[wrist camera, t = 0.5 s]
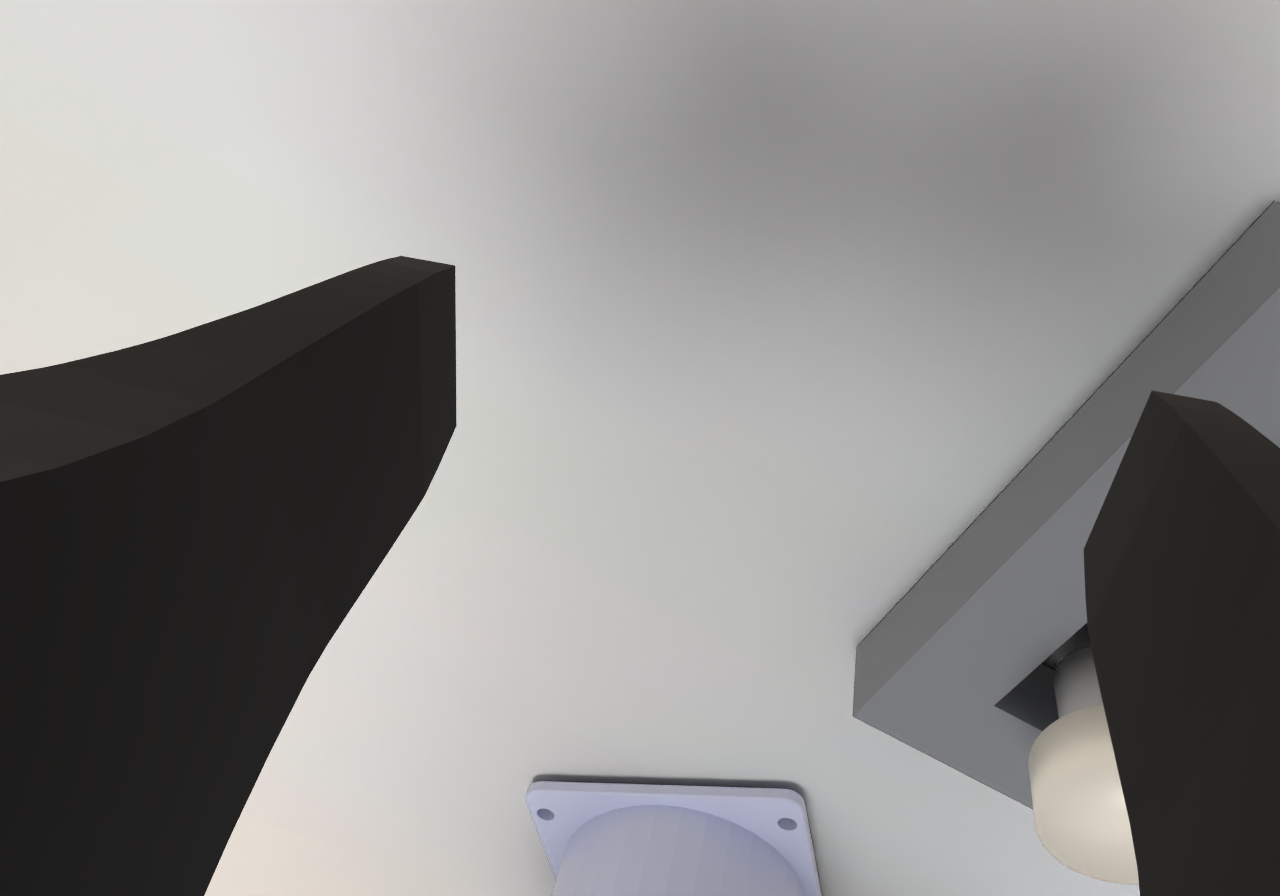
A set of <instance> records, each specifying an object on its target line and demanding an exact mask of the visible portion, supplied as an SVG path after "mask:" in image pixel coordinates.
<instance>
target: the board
mask: <svg viewBox="0 0 1280 896" xmlns="http://www.w3.org/2000/svg"><path fill="white" fill-rule="evenodd" d="M1152 390H1153V391H1158V392H1164V393H1170V394H1175V395H1181V396H1186V397H1192V398H1198V399H1203V400H1209V401H1214V402H1217V403H1219V404H1221V405H1222V406H1224V407H1226V408H1227V409H1229V410H1230V411H1232V412H1233V413H1235V414H1236V415H1238V416H1239V417H1241V418H1242V419H1243V420H1245V421H1246V422H1247V423H1249V424H1250V425H1251V426H1253V427H1254V428H1255V429H1256V430H1258V431H1259V432H1260V433H1261V434H1263V435H1264V436H1265V437H1267V438H1268V439H1269V440H1270V441H1272V442H1273V443H1274V444H1275V445H1277V446H1278V447H1279V448H1280V204H1279V203H1278V202H1276V201H1274V202H1273V203H1272V204H1271V205H1270V207H1269V208H1268V209H1267V210H1266V211H1265V212H1264V213H1263V214H1262V215H1261V216H1260V217H1259V218H1258V219H1257V220H1256V222H1255V223H1254V224H1253V225H1252V226H1251V227H1250V228H1249V229H1248V230H1247V231H1246V232H1245V233H1244V234H1243V235H1242V236H1241V238H1240V239H1239V240H1238V241H1237V242H1236V243H1235V244H1234V245H1233V246H1232V247H1231V248H1230V249H1229V250H1228V251H1227V252H1226V254H1225V255H1224V256H1223V257H1222V258H1221V259H1220V260H1219V261H1218V262H1217V263H1216V264H1215V265H1214V266H1213V267H1212V268H1211V270H1210V271H1209V272H1208V273H1207V274H1206V275H1205V276H1204V277H1203V278H1202V279H1201V280H1200V281H1199V282H1198V283H1197V284H1196V286H1195V287H1194V288H1193V289H1192V290H1191V291H1190V292H1189V293H1188V294H1187V295H1186V296H1185V297H1184V298H1183V299H1182V301H1181V302H1180V303H1179V304H1178V305H1177V306H1176V307H1175V308H1174V309H1173V310H1172V311H1171V312H1170V313H1169V314H1168V315H1167V317H1166V318H1165V319H1164V320H1163V321H1162V322H1161V323H1160V324H1159V325H1158V326H1157V327H1156V328H1155V329H1154V330H1153V331H1152V333H1151V334H1150V335H1149V336H1148V337H1147V338H1146V339H1145V340H1144V341H1143V342H1142V343H1141V344H1140V345H1139V346H1138V347H1137V349H1136V350H1135V351H1134V352H1133V353H1132V354H1131V355H1130V356H1129V357H1128V358H1127V359H1126V360H1125V361H1124V362H1123V364H1122V365H1121V366H1120V367H1119V368H1118V369H1117V370H1116V371H1115V372H1114V373H1113V374H1112V375H1111V376H1110V377H1109V378H1108V380H1107V381H1106V382H1105V383H1104V384H1103V385H1102V386H1101V387H1100V388H1099V389H1098V390H1097V391H1096V392H1095V393H1094V394H1093V396H1092V397H1091V398H1090V399H1089V400H1088V401H1087V402H1086V403H1085V404H1084V405H1083V406H1082V407H1081V408H1080V409H1079V410H1078V412H1077V413H1076V414H1075V415H1074V416H1073V417H1072V418H1071V419H1070V420H1069V421H1068V422H1067V423H1066V424H1065V425H1064V426H1063V428H1062V429H1061V430H1060V431H1059V432H1058V433H1057V434H1056V435H1055V436H1054V437H1053V438H1052V439H1051V440H1050V441H1049V443H1048V444H1047V445H1046V446H1045V447H1044V448H1043V449H1042V450H1041V451H1040V452H1039V453H1038V454H1037V455H1036V456H1035V457H1034V459H1033V460H1032V461H1031V462H1030V463H1029V464H1028V465H1027V466H1026V467H1025V468H1024V469H1023V470H1022V471H1021V472H1020V473H1019V475H1018V476H1017V477H1016V478H1015V479H1014V480H1013V481H1012V482H1011V483H1010V484H1009V485H1008V486H1007V487H1006V488H1005V489H1004V491H1003V492H1002V493H1001V494H1000V495H999V496H998V497H997V498H996V499H995V500H994V501H993V502H992V503H991V504H990V505H989V507H988V508H987V509H986V510H985V511H984V512H983V513H982V514H981V515H980V516H979V517H978V518H977V519H976V520H975V522H974V523H973V524H972V525H971V526H970V527H969V528H968V529H967V530H966V531H965V532H964V533H963V534H962V535H961V536H960V538H959V539H958V540H957V541H956V542H955V543H954V544H953V545H952V546H951V547H950V548H949V549H948V550H947V551H946V552H945V554H944V555H943V556H942V557H941V558H940V559H939V560H938V561H937V562H936V563H935V564H934V565H933V566H932V567H931V568H930V570H929V571H928V572H927V573H926V574H925V575H924V576H923V577H922V578H921V579H920V580H919V581H918V582H917V583H916V584H915V586H914V587H913V588H912V589H911V590H910V591H909V592H908V593H907V594H906V595H905V596H904V597H903V598H902V599H901V601H900V602H899V603H898V604H897V605H896V606H895V607H894V608H893V609H892V610H891V611H890V612H889V613H888V614H887V615H886V617H885V618H884V619H883V620H882V621H881V622H880V623H879V624H878V625H877V626H876V627H875V628H874V629H873V630H872V631H871V633H870V634H869V635H868V636H867V637H866V638H865V639H864V640H863V641H862V642H861V643H860V644H859V645H858V646H857V647H856V664H855V682H854V700H853V717H855V718H857V719H859V720H861V721H863V722H865V723H866V724H868V725H870V726H872V727H874V728H876V729H878V730H880V731H882V732H884V733H886V734H888V735H890V736H892V737H894V738H896V739H897V740H899V741H901V742H903V743H905V744H907V745H909V746H911V747H913V748H915V749H917V750H919V751H921V752H923V753H925V754H927V755H928V756H930V757H932V758H934V759H936V760H938V761H940V762H942V763H944V764H946V765H948V766H950V767H952V768H954V769H956V770H958V771H959V772H961V773H963V774H965V775H967V776H969V777H971V778H973V779H975V780H977V781H979V782H981V783H983V784H985V785H987V786H989V787H990V788H992V789H994V790H996V791H998V792H1000V793H1002V794H1004V795H1006V796H1008V797H1010V798H1012V799H1014V800H1016V801H1018V802H1020V803H1021V804H1023V805H1025V806H1027V807H1029V808H1031V809H1033V801H1032V793H1031V784H1030V775H1029V766H1028V760H1029V753H1030V750H1031V747H1032V745H1033V743H1034V742H1035V740H1036V739H1037V737H1038V736H1039V735H1040V733H1041V732H1042V731H1044V730H1045V729H1046V728H1047V727H1048V726H1049V725H1051V724H1052V723H1053V722H1055V721H1056V720H1058V719H1059V716H1058V710H1057V703H1056V696H1055V690H1054V683H1053V676H1054V672H1055V670H1053V669H1051V668H1049V667H1047V666H1045V665H1043V664H1041V663H1042V662H1043V661H1045V660H1046V659H1047V658H1048V657H1049V656H1050V655H1051V654H1052V653H1054V652H1055V651H1056V650H1057V649H1058V648H1059V647H1060V646H1061V645H1063V644H1064V643H1065V642H1066V641H1067V640H1068V639H1069V638H1070V637H1072V636H1073V635H1074V634H1075V633H1076V632H1077V631H1078V630H1079V629H1081V628H1082V627H1083V626H1084V625H1085V624H1086V623H1087V612H1086V598H1085V575H1084V550H1083V549H1084V547H1085V545H1086V542H1087V540H1088V538H1089V535H1090V533H1091V531H1092V528H1093V526H1094V524H1095V521H1096V519H1097V517H1098V514H1099V512H1100V510H1101V507H1102V505H1103V503H1104V500H1105V498H1106V496H1107V493H1108V491H1109V489H1110V487H1111V484H1112V482H1113V480H1114V477H1115V475H1116V473H1117V470H1118V468H1119V466H1120V463H1121V461H1122V459H1123V456H1124V454H1125V452H1126V449H1127V447H1128V445H1129V442H1130V440H1131V438H1132V435H1133V433H1134V431H1135V428H1136V426H1137V424H1138V421H1139V419H1140V417H1141V414H1142V412H1143V410H1144V407H1145V405H1146V403H1147V400H1148V398H1149V396H1150V393H1151V391H1152Z"/></svg>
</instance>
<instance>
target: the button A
mask: <svg viewBox="0 0 1280 896" xmlns="http://www.w3.org/2000/svg"><path fill="white" fill-rule="evenodd" d="M1053 683H1054V690H1055V696H1056V703H1057V710H1058V716H1059V719H1058V720H1056V721H1055V722H1053V723H1052V724H1051V725H1049V726H1048V727H1047V728H1046V729H1045V730H1044V731H1042V732H1041V733H1040V735H1039V736H1038V737H1037V739H1036V740H1035V742H1034V743H1033V745H1032V747H1031V750H1030V753H1029V760H1028V766H1029V775H1030V784H1031V793H1032V801H1033V810H1034V819H1035V827H1036V832H1037V835H1038V838H1039V840H1040V842H1041V843H1042V845H1043V846H1044V848H1045V849H1046V850H1047V852H1048V853H1049V854H1051V855H1052V856H1053V857H1054V858H1055V859H1056V860H1057V861H1059V862H1060V863H1062V864H1063V865H1065V866H1066V867H1068V868H1070V869H1072V870H1074V871H1076V872H1078V873H1080V874H1083V875H1086V876H1089V877H1091V878H1095V879H1099V880H1103V881H1107V882H1113V883H1120V884H1137V885H1139V879H1138V869H1137V863H1136V857H1135V851H1134V845H1133V839H1132V834H1131V828H1130V822H1129V818H1128V813H1127V809H1126V804H1125V800H1124V795H1123V791H1122V787H1121V782H1120V778H1119V773H1118V769H1117V764H1116V760H1115V755H1114V751H1113V746H1112V742H1111V737H1110V733H1109V728H1108V724H1107V720H1106V715H1105V711H1104V706H1103V702H1102V697H1101V692H1100V688H1099V683H1098V678H1097V674H1096V669H1095V664H1094V660H1093V655H1092V650H1091V646H1089V647H1085V648H1082V649H1079V650H1077V651H1074V652H1072V653H1071V654H1069V655H1068V656H1066V657H1065V658H1064V659H1063V660H1062V661H1061V662H1060V663H1059V664H1058V666H1057V667H1056V669H1055V672H1054V676H1053Z"/></svg>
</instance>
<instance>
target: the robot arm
mask: <svg viewBox="0 0 1280 896" xmlns="http://www.w3.org/2000/svg"><path fill="white" fill-rule="evenodd" d="M455 428H456V317H455V266H454V265H448V264H443V263H437V262H431V261H426V260H420V259H415V258H409V257H404V256H399V257H395V258H390V259H386V260H382V261H379V262H376V263H373V264H370V265H366V266H364V267H361V268H358V269H355V270H352V271H350V272H347V273H344V274H341V275H339V276H336V277H333V278H331V279H328V280H326V281H323V282H320V283H318V284H315V285H312V286H310V287H307V288H304V289H302V290H299V291H296V292H294V293H291V294H289V295H286V296H283V297H281V298H278V299H275V300H273V301H270V302H267V303H265V304H262V305H259V306H257V307H254V308H251V309H248V310H245V311H242V312H239V313H236V314H233V315H230V316H227V317H224V318H221V319H218V320H215V321H212V322H209V323H206V324H203V325H200V326H198V327H195V328H192V329H189V330H186V331H183V332H180V333H177V334H174V335H171V336H168V337H164V338H161V339H157V340H154V341H151V342H147V343H144V344H140V345H136V346H133V347H129V348H125V349H121V350H118V351H114V352H109V353H105V354H101V355H97V356H93V357H89V358H84V359H80V360H76V361H72V362H68V363H63V364H58V365H54V366H49V367H44V368H39V369H33V370H27V371H21V372H15V373H10V374H4V375H0V896H204V894H205V892H206V890H207V888H208V885H209V883H210V881H211V879H212V876H213V874H214V872H215V869H216V867H217V865H218V863H219V860H220V858H221V856H222V854H223V851H224V849H225V847H226V844H227V842H228V840H229V838H230V836H231V833H232V831H233V829H234V827H235V825H236V823H237V821H238V819H239V817H240V814H241V812H242V810H243V808H244V806H245V804H246V802H247V800H248V798H249V795H250V793H251V791H252V789H253V787H254V785H255V783H256V781H257V779H258V776H259V774H260V772H261V770H262V768H263V766H264V764H265V762H266V759H267V757H268V755H269V753H270V751H271V749H272V747H273V745H274V743H275V741H276V739H277V737H278V735H279V733H280V731H281V729H282V727H283V725H284V723H285V722H286V720H287V718H288V716H289V714H290V712H291V710H292V708H293V706H294V704H295V702H296V700H297V698H298V696H299V694H300V692H301V690H302V688H303V686H304V684H305V682H306V680H307V678H308V676H309V675H310V673H311V671H312V670H313V668H314V666H315V664H316V663H317V661H318V659H319V658H320V656H321V654H322V653H323V651H324V649H325V648H326V646H327V644H328V643H329V641H330V640H331V638H332V637H333V635H334V634H335V632H336V631H337V629H338V628H339V626H340V624H341V623H342V621H343V620H344V618H345V617H346V615H347V614H348V612H349V611H350V609H351V608H352V606H353V605H354V603H355V602H356V600H357V599H358V597H359V596H360V594H361V593H362V591H363V590H364V588H365V587H366V585H367V584H368V582H369V581H370V579H371V578H372V576H373V575H374V573H375V572H376V570H377V569H378V567H379V566H380V564H381V562H382V561H383V559H384V558H385V556H386V555H387V553H388V552H389V550H390V549H391V547H392V546H393V544H394V543H395V541H396V540H397V538H398V537H399V535H400V533H401V532H402V530H403V529H404V527H405V526H406V524H407V523H408V521H409V520H410V518H411V516H412V515H413V513H414V512H415V510H416V509H417V507H418V505H419V504H420V502H421V501H422V499H423V497H424V496H425V494H426V492H427V490H428V487H429V485H430V483H431V481H432V479H433V477H434V475H435V473H436V471H437V469H438V466H439V464H440V462H441V460H442V457H443V455H444V453H445V451H446V448H447V446H448V444H449V441H450V439H451V437H452V434H453V432H454V430H455ZM1083 550H1084V575H1085V598H1086V612H1087V625H1088V635H1089V640H1090V645H1091V650H1092V655H1093V660H1094V664H1095V669H1096V674H1097V678H1098V683H1099V688H1100V692H1101V697H1102V702H1103V706H1104V711H1105V715H1106V720H1107V724H1108V728H1109V733H1110V737H1111V742H1112V746H1113V751H1114V755H1115V760H1116V764H1117V769H1118V773H1119V778H1120V782H1121V787H1122V791H1123V795H1124V800H1125V804H1126V809H1127V813H1128V818H1129V822H1130V828H1131V834H1132V839H1133V845H1134V851H1135V857H1136V863H1137V869H1138V879H1139V889H1140V896H1280V448H1279V447H1278V446H1277V445H1275V444H1274V443H1273V442H1272V441H1270V440H1269V439H1268V438H1267V437H1265V436H1264V435H1263V434H1261V433H1260V432H1259V431H1258V430H1256V429H1255V428H1254V427H1253V426H1251V425H1250V424H1249V423H1247V422H1246V421H1245V420H1243V419H1242V418H1241V417H1239V416H1238V415H1236V414H1235V413H1233V412H1232V411H1230V410H1229V409H1227V408H1226V407H1224V406H1222V405H1221V404H1219V403H1217V402H1214V401H1209V400H1203V399H1198V398H1192V397H1186V396H1181V395H1175V394H1170V393H1164V392H1158V391H1153V390H1152V391H1151V393H1150V396H1149V398H1148V400H1147V403H1146V405H1145V407H1144V410H1143V412H1142V414H1141V417H1140V419H1139V421H1138V424H1137V426H1136V428H1135V431H1134V433H1133V435H1132V438H1131V440H1130V442H1129V445H1128V447H1127V449H1126V452H1125V454H1124V456H1123V459H1122V461H1121V463H1120V466H1119V468H1118V470H1117V473H1116V475H1115V477H1114V480H1113V482H1112V484H1111V487H1110V489H1109V491H1108V493H1107V496H1106V498H1105V500H1104V503H1103V505H1102V507H1101V510H1100V512H1099V514H1098V517H1097V519H1096V521H1095V524H1094V526H1093V528H1092V531H1091V533H1090V535H1089V538H1088V540H1087V542H1086V545H1085V547H1084V549H1083ZM525 800H526V803H527V806H528V808H529V811H530V814H531V816H532V819H533V821H534V824H535V827H536V829H537V832H538V835H539V837H540V840H541V842H542V845H543V848H544V850H545V853H546V855H547V858H548V861H549V863H550V866H551V868H552V871H553V874H554V876H555V879H556V880H555V884H554V887H553V890H552V894H551V896H822V894H821V888H820V883H819V877H818V872H817V866H816V861H815V855H814V850H813V845H812V839H811V834H810V828H809V823H808V817H807V812H806V806H805V802H804V799H803V797H802V796H800V795H799V794H798V793H797V792H795V791H792V790H789V789H777V788H745V787H713V786H680V785H648V784H616V783H583V782H551V781H539V782H534V783H532V784H530V786H529V788H528V790H527V793H526V796H525Z"/></svg>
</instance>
